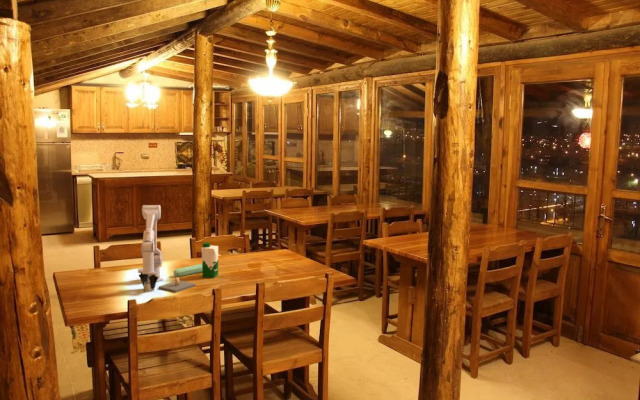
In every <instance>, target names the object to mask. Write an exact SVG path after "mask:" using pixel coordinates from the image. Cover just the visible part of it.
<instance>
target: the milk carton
mask: <svg viewBox="0 0 640 400" xmlns="http://www.w3.org/2000/svg"><path fill="white" fill-rule="evenodd" d="M200 250H201V264H202V272H201V273H202V274H201V275H202V278H207V279H215V278H216V277H217V276H219V245H211V243H210V242H202V247H201V249H200Z"/></svg>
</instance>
